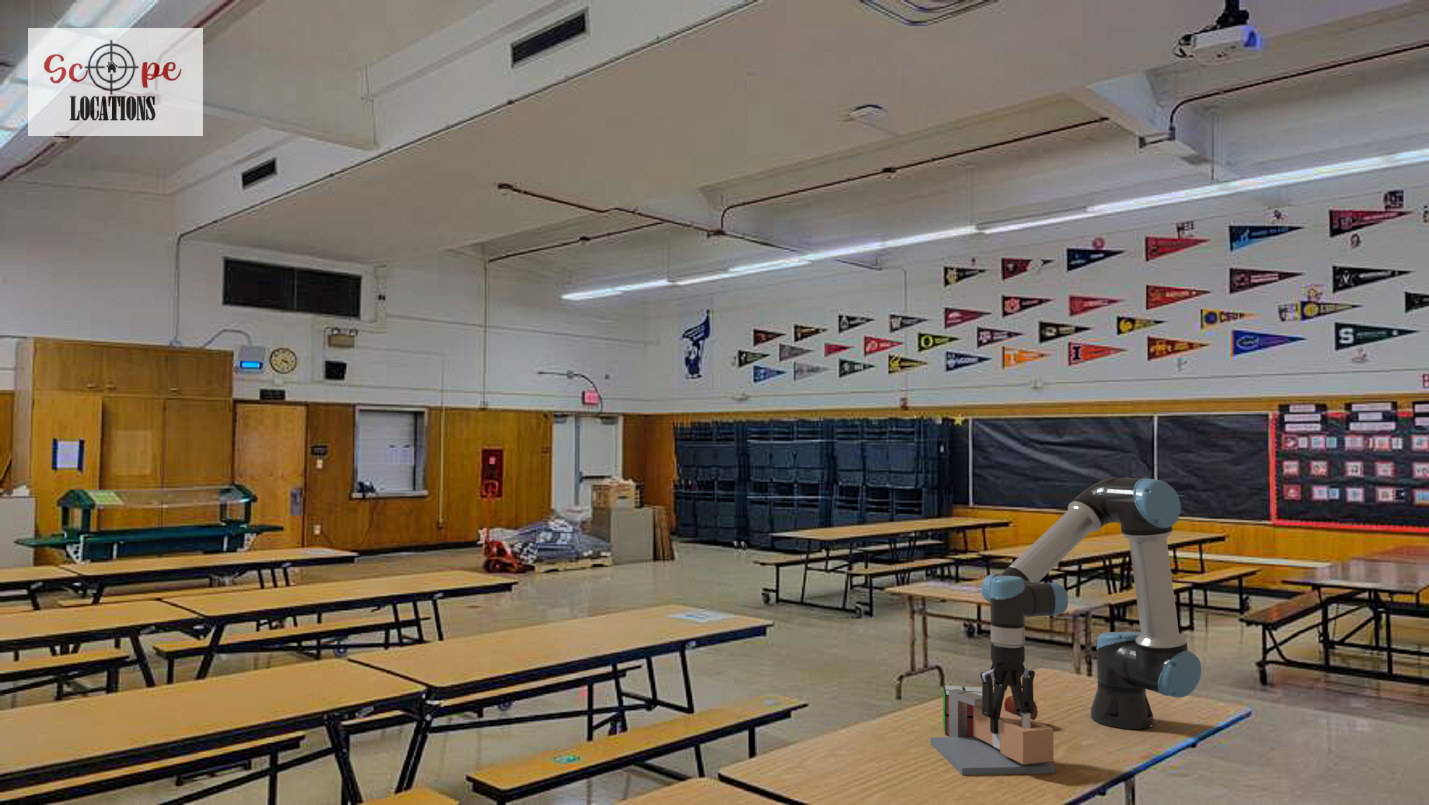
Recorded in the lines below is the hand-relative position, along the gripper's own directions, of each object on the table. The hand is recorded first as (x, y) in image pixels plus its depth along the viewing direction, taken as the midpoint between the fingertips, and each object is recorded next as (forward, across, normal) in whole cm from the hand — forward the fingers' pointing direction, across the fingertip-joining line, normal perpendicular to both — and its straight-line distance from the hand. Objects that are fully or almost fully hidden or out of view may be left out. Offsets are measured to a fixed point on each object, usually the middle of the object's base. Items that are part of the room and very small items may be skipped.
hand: (1008, 746), depth 207 cm
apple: (+3, -20, -22) cm, 30 cm away
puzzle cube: (+3, -2, -21) cm, 21 cm away
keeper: (+3, +3, -11) cm, 12 cm away
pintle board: (+3, +4, -2) cm, 5 cm away
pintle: (+3, 0, +6) cm, 7 cm away
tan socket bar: (0, 0, 0) cm, 0 cm away
